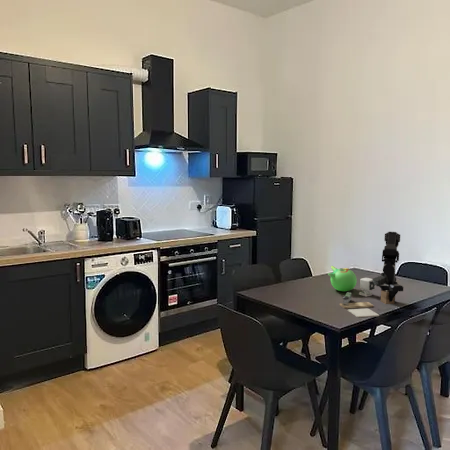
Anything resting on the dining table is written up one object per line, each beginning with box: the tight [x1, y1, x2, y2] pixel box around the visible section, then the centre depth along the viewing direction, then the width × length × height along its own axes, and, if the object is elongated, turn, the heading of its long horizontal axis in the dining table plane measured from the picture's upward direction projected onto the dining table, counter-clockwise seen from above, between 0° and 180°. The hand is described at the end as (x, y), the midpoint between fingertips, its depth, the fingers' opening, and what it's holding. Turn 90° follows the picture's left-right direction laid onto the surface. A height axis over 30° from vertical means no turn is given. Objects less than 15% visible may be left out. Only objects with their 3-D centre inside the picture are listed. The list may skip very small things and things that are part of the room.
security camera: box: [358, 277, 376, 297], centre depth 261 cm, size 6×7×10 cm
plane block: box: [339, 301, 374, 309], centre depth 239 cm, size 17×6×1 cm, turn 101°
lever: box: [342, 291, 352, 305], centre depth 244 cm, size 16×3×4 cm, turn 156°
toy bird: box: [327, 265, 358, 292], centre depth 270 cm, size 18×17×15 cm
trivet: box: [347, 307, 380, 318], centre depth 227 cm, size 12×11×1 cm
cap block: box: [380, 290, 396, 305], centre depth 231 cm, size 5×5×7 cm
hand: (387, 300), depth 231 cm, fingers closed on cap block, 5 cm apart
